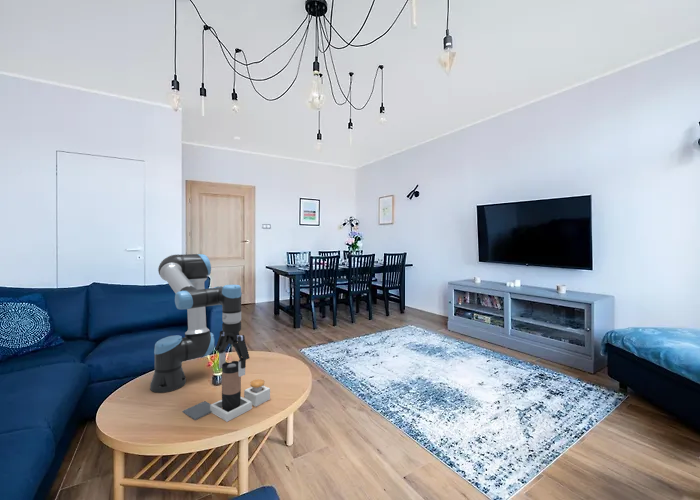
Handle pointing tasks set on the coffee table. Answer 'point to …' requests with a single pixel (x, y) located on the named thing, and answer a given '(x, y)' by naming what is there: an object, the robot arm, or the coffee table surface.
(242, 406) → the socket collar
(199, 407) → the mat
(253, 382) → the tan and grey knob
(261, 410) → the coffee table surface
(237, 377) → the travel mug
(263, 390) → the housing
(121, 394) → the coffee table surface
